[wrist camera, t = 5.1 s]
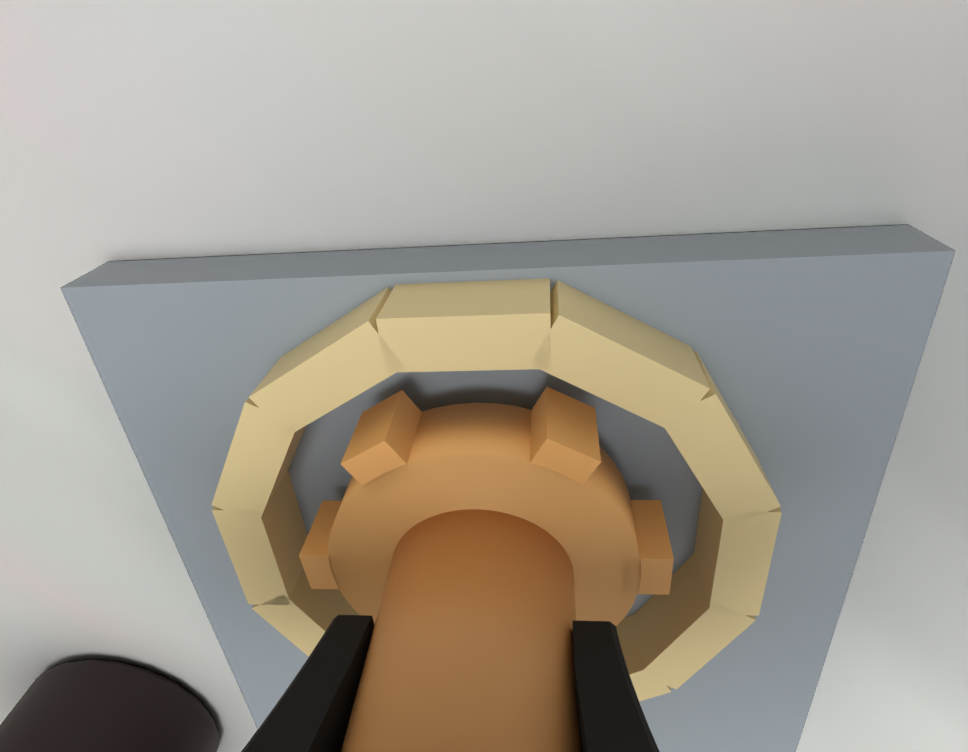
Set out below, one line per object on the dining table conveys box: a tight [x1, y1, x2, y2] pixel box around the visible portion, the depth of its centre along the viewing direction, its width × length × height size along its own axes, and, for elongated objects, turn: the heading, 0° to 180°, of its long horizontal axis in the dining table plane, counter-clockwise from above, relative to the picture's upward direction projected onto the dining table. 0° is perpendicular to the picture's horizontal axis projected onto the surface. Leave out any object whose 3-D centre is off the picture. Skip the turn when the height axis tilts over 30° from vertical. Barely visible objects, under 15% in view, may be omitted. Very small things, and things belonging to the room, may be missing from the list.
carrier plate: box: [61, 225, 955, 752], centre depth 15 cm, size 16×19×4 cm
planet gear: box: [299, 387, 674, 752], centre depth 10 cm, size 7×7×6 cm
